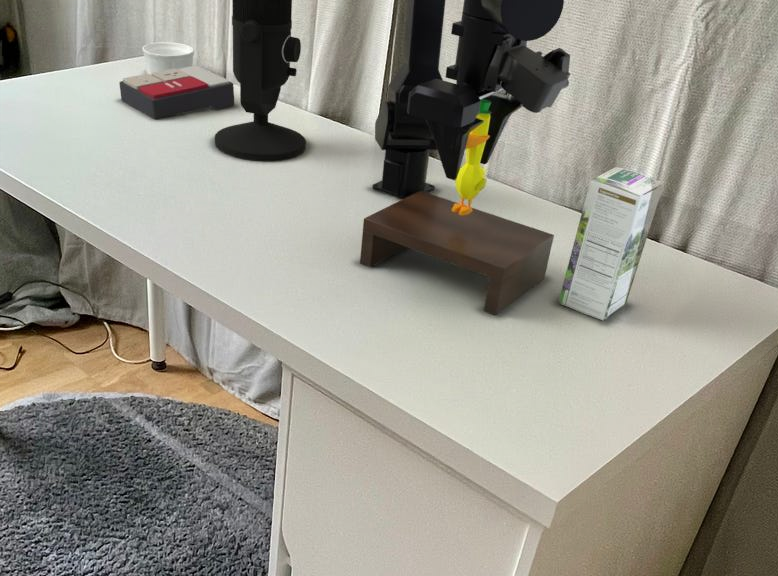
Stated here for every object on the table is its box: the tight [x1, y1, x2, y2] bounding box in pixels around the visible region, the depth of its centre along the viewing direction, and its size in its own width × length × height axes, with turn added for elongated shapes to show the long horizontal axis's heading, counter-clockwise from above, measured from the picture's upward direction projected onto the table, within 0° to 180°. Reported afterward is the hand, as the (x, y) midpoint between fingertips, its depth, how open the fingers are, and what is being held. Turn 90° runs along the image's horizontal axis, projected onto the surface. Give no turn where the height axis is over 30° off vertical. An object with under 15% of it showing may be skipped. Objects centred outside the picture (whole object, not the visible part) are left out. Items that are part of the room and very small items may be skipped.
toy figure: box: [452, 99, 492, 216], centre depth 96 cm, size 7×4×12 cm, turn 135°
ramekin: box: [142, 41, 195, 75], centre depth 157 cm, size 9×9×4 cm
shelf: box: [359, 191, 555, 316], centre depth 102 cm, size 12×18×6 cm, turn 54°
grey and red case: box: [118, 65, 235, 120], centre depth 144 cm, size 11×4×15 cm
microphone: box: [214, 0, 307, 162], centre depth 125 cm, size 14×14×25 cm
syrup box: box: [558, 166, 664, 321], centre depth 95 cm, size 6×6×14 cm
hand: (467, 170), depth 96 cm, fingers closed on toy figure, 6 cm apart
